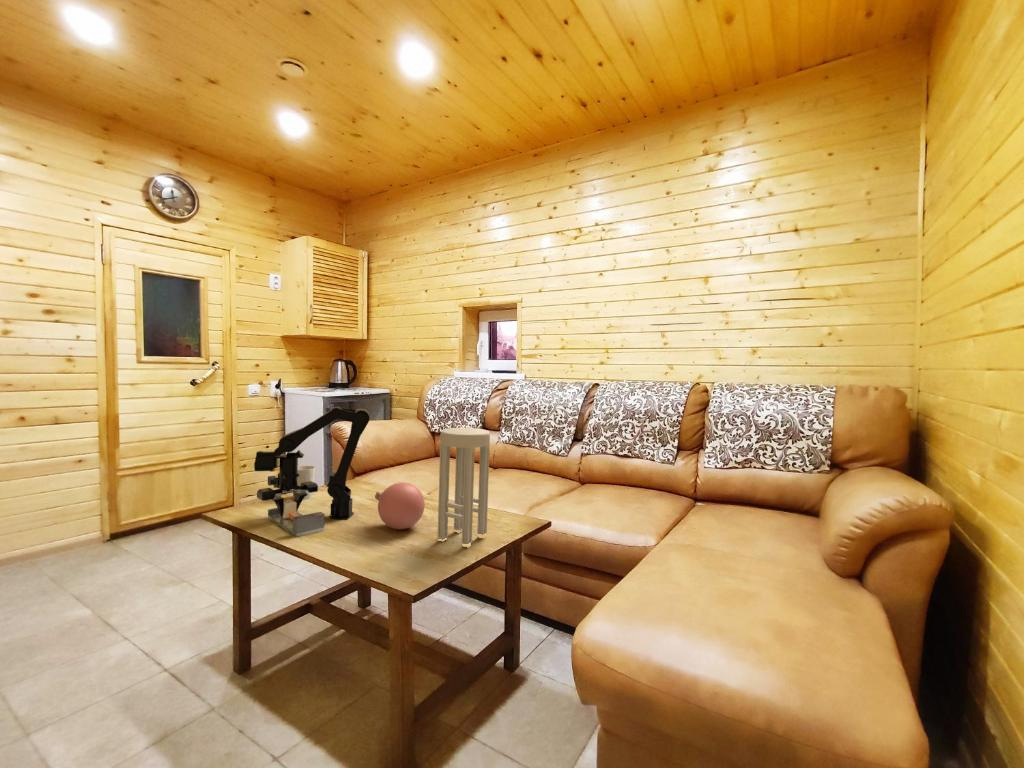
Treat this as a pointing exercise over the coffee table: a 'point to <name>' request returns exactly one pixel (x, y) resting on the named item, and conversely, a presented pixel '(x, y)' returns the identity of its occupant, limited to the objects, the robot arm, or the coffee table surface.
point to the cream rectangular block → (289, 509)
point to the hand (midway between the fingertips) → (288, 514)
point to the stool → (463, 481)
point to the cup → (306, 477)
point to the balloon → (400, 505)
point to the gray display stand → (299, 522)
